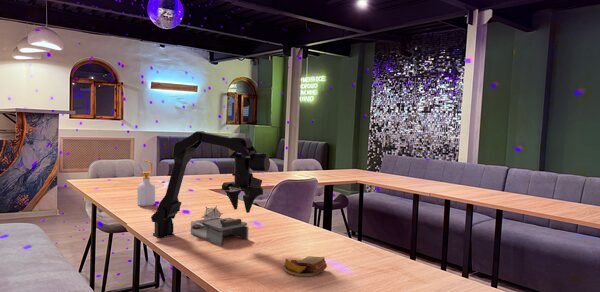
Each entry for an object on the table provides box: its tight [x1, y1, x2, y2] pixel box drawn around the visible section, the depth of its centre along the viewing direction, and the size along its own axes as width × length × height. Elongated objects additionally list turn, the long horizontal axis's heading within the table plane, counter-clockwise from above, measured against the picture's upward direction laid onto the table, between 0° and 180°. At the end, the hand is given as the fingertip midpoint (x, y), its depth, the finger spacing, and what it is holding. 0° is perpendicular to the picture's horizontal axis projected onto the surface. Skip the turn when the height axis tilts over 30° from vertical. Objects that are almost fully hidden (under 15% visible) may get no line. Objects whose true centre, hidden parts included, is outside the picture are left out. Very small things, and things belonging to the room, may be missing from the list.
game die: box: [201, 205, 224, 219], centre depth 189 cm, size 9×8×10 cm
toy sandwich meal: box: [283, 256, 328, 278], centre depth 134 cm, size 12×14×5 cm
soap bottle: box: [136, 159, 156, 207], centre depth 228 cm, size 9×9×25 cm
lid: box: [202, 217, 248, 231], centre depth 167 cm, size 13×12×3 cm
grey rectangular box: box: [190, 216, 249, 247], centre depth 170 cm, size 17×22×5 cm
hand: (241, 211), depth 159 cm, fingers open, 7 cm apart
